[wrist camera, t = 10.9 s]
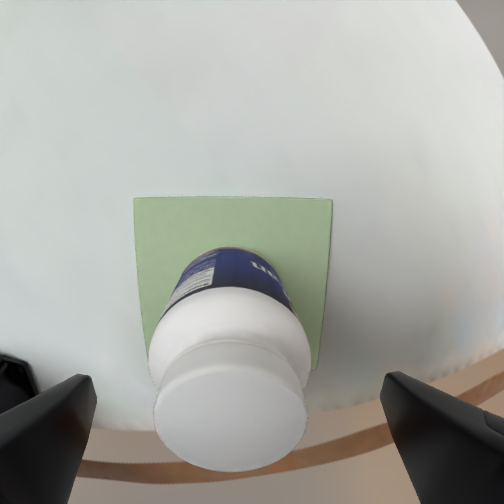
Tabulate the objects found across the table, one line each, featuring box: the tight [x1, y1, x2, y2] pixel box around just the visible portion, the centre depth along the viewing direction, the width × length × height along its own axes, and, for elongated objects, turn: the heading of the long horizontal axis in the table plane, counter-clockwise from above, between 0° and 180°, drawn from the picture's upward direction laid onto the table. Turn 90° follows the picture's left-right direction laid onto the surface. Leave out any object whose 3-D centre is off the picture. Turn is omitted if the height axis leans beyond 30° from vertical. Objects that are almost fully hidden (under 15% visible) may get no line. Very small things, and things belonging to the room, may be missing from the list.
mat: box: [133, 197, 332, 370], centre depth 17 cm, size 10×10×1 cm
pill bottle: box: [148, 245, 311, 472], centre depth 12 cm, size 5×5×10 cm
